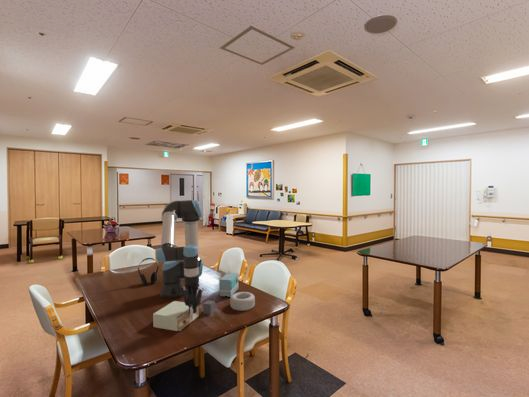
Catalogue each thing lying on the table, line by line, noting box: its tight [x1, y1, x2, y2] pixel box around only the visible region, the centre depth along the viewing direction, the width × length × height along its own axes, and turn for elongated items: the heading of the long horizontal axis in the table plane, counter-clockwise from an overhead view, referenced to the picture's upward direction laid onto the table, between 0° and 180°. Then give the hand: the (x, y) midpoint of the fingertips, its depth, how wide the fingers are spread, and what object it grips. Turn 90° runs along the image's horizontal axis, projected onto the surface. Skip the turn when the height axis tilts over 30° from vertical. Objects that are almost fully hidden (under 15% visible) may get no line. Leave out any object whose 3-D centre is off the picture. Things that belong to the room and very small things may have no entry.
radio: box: [218, 272, 239, 298], centre depth 197 cm, size 16×9×20 cm, turn 166°
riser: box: [202, 300, 216, 316], centre depth 168 cm, size 5×5×6 cm
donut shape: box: [229, 291, 256, 312], centre depth 176 cm, size 15×15×7 cm
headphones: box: [137, 257, 159, 286], centre depth 220 cm, size 9×15×20 cm, turn 123°
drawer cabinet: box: [152, 300, 189, 332], centre depth 157 cm, size 15×18×7 cm
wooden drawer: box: [177, 305, 200, 332], centre depth 157 cm, size 16×18×6 cm
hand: (193, 318), depth 154 cm, fingers closed
